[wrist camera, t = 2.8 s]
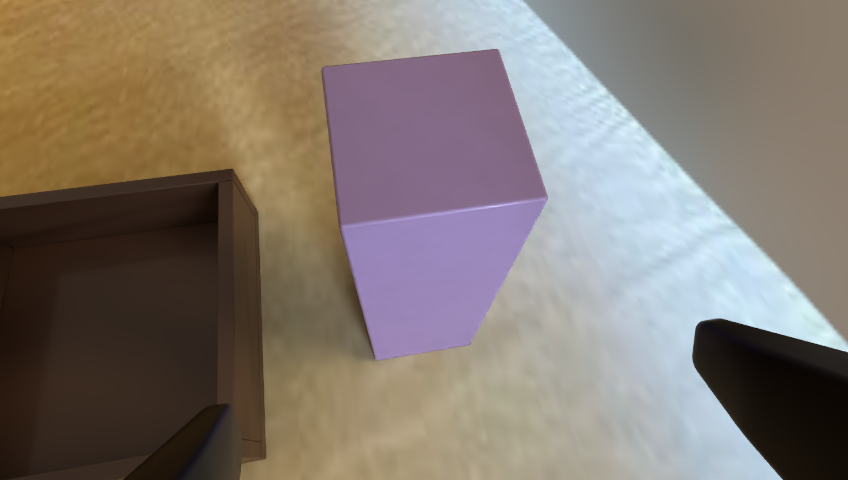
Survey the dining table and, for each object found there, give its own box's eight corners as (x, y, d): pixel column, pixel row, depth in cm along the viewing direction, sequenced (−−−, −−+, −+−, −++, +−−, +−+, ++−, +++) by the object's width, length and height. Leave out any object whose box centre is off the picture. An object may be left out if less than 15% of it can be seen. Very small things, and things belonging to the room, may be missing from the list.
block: (470, 344, 21) (550, 198, 9) (375, 361, 20) (339, 227, 9) (451, 258, 23) (499, 47, 11) (363, 271, 22) (320, 65, 11)
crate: (266, 459, 19) (235, 457, 15) (-46, 517, 17) (-157, 530, 14) (258, 211, 23) (232, 167, 20) (12, 244, 22) (-60, 203, 19)
